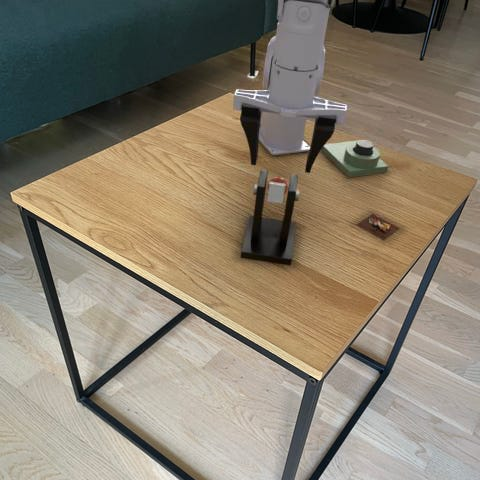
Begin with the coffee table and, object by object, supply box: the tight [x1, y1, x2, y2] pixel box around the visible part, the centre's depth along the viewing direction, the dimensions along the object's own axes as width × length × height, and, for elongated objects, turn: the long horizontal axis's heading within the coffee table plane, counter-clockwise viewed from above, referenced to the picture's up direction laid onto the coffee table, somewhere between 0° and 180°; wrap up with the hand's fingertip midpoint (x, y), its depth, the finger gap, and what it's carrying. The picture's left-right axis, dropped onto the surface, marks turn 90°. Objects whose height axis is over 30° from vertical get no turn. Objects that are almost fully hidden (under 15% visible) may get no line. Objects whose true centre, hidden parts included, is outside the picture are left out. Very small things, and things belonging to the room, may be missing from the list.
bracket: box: [240, 169, 301, 266], centre depth 67 cm, size 9×7×10 cm
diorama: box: [356, 213, 400, 240], centre depth 75 cm, size 3×4×2 cm
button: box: [354, 139, 375, 156], centre depth 86 cm, size 3×3×2 cm
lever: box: [265, 176, 289, 205], centre depth 69 cm, size 11×3×3 cm, turn 172°
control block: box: [320, 140, 389, 178], centre depth 89 cm, size 10×8×3 cm
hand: (280, 165), depth 70 cm, fingers open, 7 cm apart
